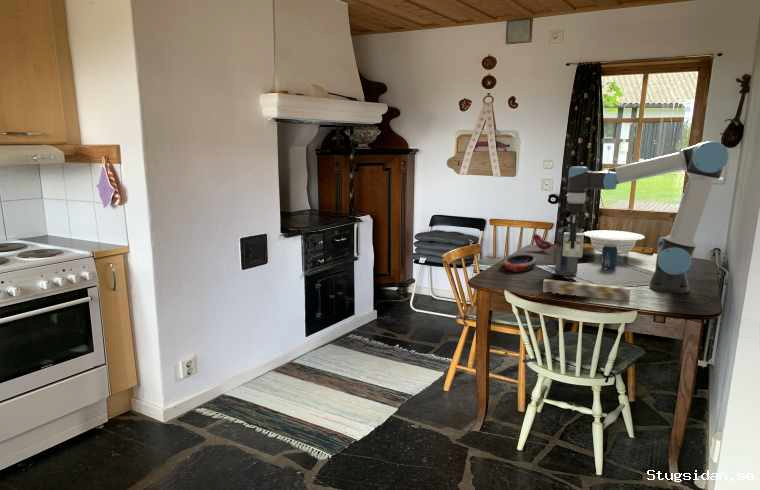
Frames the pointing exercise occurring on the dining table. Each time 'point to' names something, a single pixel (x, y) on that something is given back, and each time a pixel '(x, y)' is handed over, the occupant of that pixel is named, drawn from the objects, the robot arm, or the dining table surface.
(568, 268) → the beverage bottle
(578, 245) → the sage carton
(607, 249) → the soda can
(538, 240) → the decorative bird figurine
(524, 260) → the dish
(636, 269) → the dining table surface
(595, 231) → the colander
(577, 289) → the price rail shelf lip
